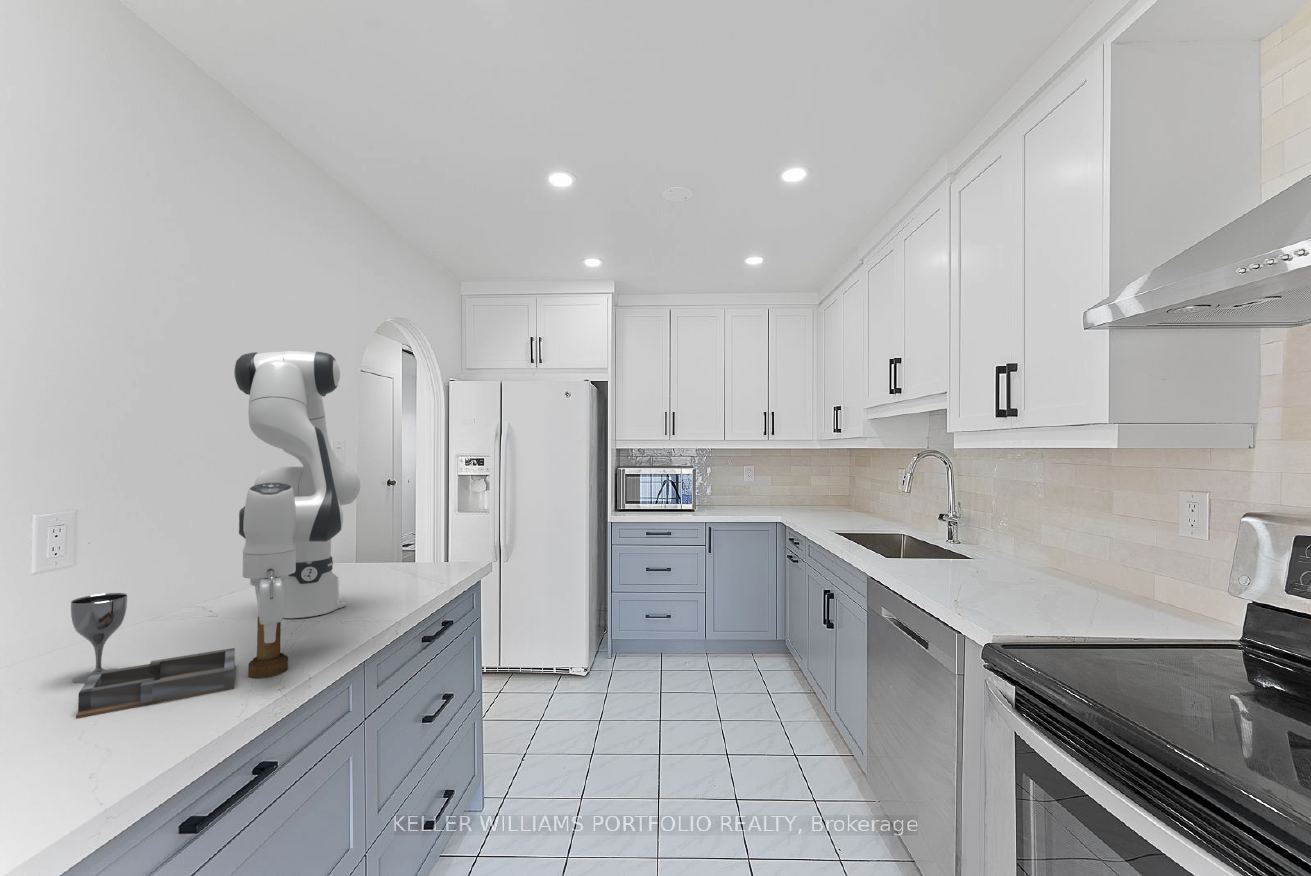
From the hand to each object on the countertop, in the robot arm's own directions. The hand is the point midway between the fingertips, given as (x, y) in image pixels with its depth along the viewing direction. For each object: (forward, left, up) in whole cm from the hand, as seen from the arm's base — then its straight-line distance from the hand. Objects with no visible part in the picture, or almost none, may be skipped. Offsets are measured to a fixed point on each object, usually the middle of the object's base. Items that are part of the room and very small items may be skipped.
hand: (268, 635), depth 116 cm
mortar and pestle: (0, 0, -7) cm, 7 cm away
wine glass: (-16, -27, -7) cm, 32 cm away
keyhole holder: (-1, -16, -7) cm, 18 cm away
